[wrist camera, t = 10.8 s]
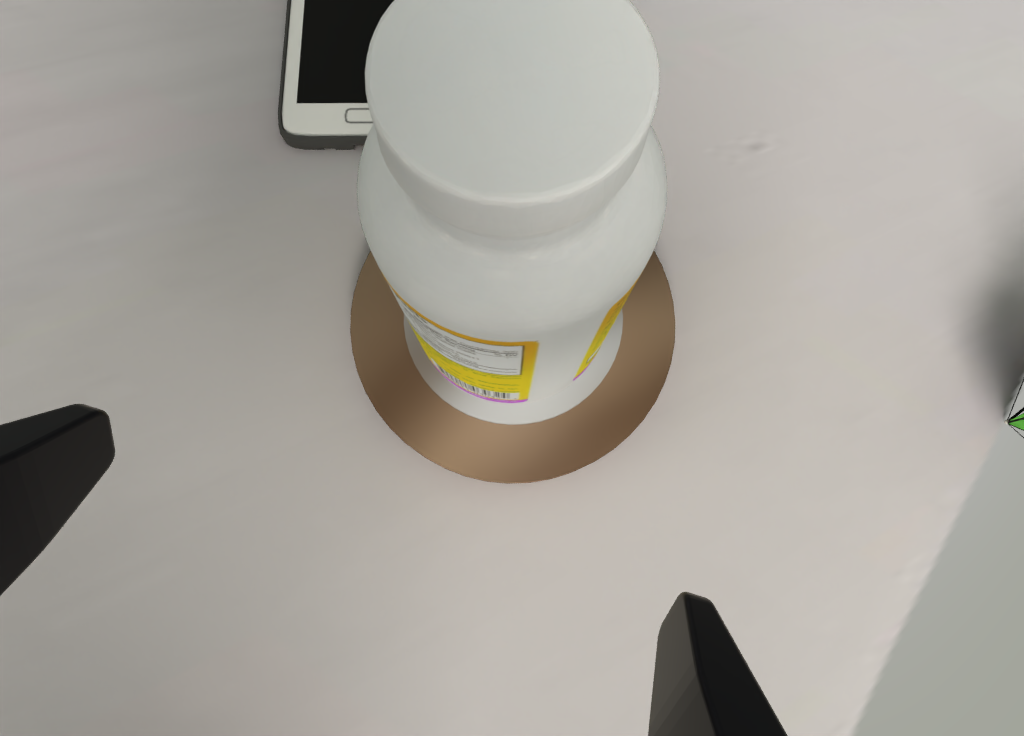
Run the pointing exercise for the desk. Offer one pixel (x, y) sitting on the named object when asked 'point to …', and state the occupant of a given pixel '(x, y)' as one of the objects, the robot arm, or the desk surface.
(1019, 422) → the geometric puzzle
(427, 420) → the brown rimmed plate
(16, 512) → the robot arm
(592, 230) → the supplement bottle
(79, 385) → the desk surface
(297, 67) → the cell phone
